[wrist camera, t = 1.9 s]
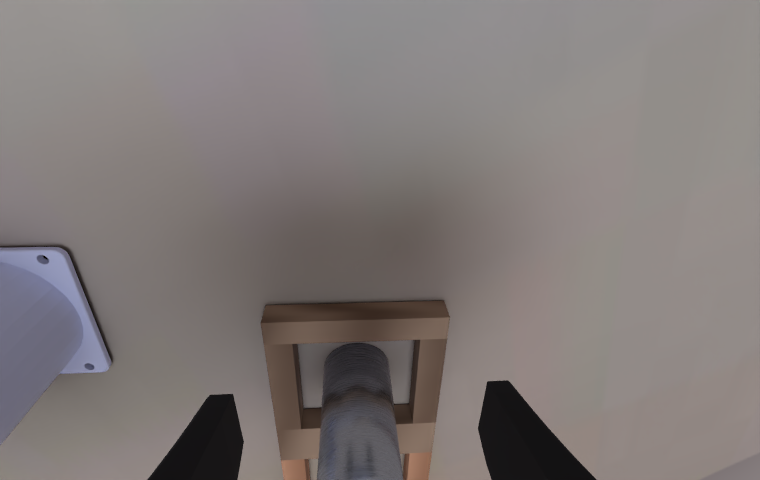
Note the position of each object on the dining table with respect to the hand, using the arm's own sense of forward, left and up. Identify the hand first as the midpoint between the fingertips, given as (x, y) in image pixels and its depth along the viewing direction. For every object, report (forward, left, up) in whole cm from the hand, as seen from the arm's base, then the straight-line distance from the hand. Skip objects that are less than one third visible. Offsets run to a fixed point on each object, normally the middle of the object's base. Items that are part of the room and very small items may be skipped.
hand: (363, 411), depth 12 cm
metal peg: (0, -9, -10) cm, 14 cm away
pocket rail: (0, -14, -10) cm, 17 cm away
